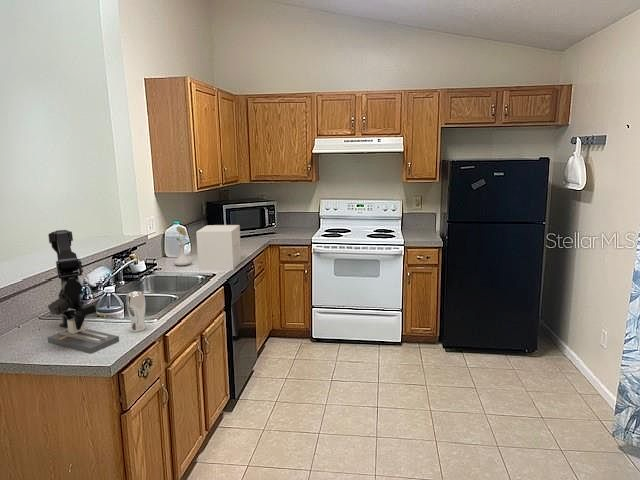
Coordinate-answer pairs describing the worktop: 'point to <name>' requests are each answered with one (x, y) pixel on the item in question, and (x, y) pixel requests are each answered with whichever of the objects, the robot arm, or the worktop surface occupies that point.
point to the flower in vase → (182, 250)
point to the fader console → (84, 340)
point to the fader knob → (73, 326)
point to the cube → (218, 247)
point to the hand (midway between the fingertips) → (75, 328)
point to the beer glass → (136, 310)
